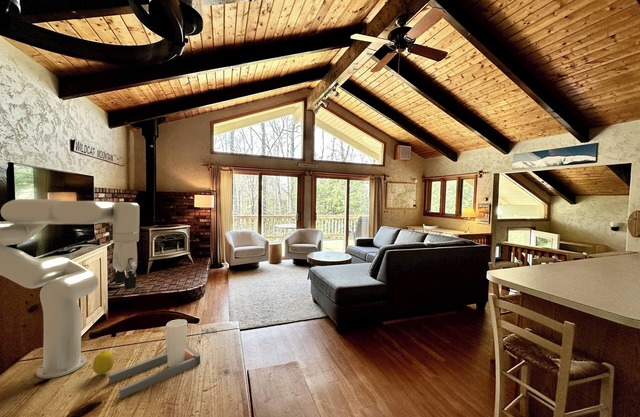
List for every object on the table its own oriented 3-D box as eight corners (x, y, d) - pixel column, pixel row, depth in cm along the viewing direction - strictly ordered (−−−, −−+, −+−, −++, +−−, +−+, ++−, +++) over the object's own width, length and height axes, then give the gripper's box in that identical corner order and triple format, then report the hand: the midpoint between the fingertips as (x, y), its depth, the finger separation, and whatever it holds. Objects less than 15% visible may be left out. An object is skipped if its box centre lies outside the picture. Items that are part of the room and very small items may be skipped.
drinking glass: (177, 371, 94) (178, 328, 94) (160, 368, 96) (161, 325, 95) (190, 360, 101) (191, 320, 101) (174, 358, 102) (175, 318, 102)
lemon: (112, 367, 95) (112, 344, 95) (115, 374, 91) (115, 351, 91) (91, 374, 91) (92, 350, 91) (93, 382, 88) (94, 357, 87)
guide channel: (109, 382, 87) (109, 372, 87) (185, 352, 106) (185, 344, 106) (120, 399, 80) (120, 388, 80) (200, 363, 99) (200, 354, 99)
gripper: (105, 236, 99) (105, 283, 99) (121, 240, 88) (120, 293, 88) (130, 234, 105) (129, 279, 105) (147, 238, 94) (146, 288, 94)
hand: (125, 285), depth 96 cm, fingers open, 9 cm apart
